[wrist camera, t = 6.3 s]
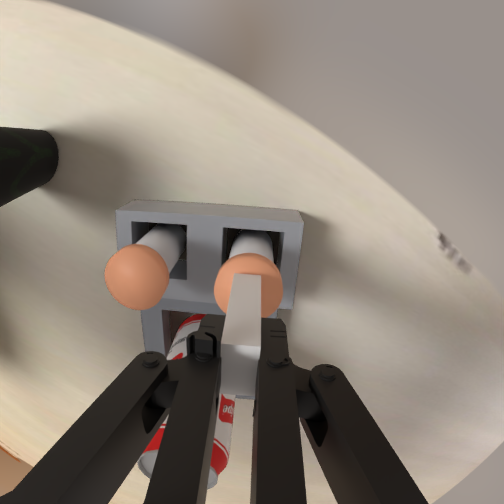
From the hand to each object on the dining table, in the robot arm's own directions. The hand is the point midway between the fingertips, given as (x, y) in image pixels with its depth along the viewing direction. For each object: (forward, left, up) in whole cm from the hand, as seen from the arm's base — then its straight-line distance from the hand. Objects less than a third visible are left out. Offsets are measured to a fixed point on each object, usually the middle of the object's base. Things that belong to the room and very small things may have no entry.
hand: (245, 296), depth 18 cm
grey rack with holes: (-3, -7, -10) cm, 12 cm away
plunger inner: (-7, 0, -9) cm, 11 cm away
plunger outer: (0, 0, -9) cm, 9 cm away
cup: (-21, +7, -10) cm, 25 cm away
